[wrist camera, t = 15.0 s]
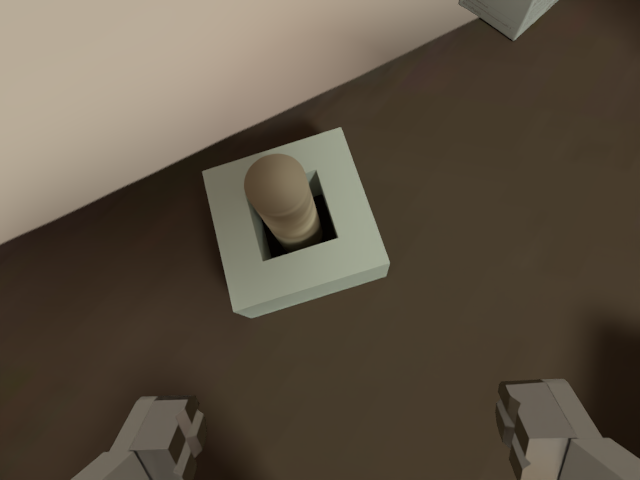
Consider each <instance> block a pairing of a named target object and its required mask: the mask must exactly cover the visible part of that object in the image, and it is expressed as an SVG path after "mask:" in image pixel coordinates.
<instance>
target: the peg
mask: <svg viewBox="0 0 640 480" xmlns="http://www.w3.org/2000/svg"><path fill="white" fill-rule="evenodd" d="M244 190H245V194H246V196H247V198H248V200H249V201H250V202H251V204H252V205H253V207H254V208H255V209H256V211H257V212H258V214H259V215H260V216H261V218H262V219H263V221H264V222H265V223H266V225H267V226H268V227H269V229H270V230H271V232H272V233H273V234H274V236H275V237H276V239H277V240H278V241H279V243H280V244H281V246H282V247H283V248H284V249H285V250H286V251H287V252H289V253H292V252H295V251H298V250H301V249H304V248H308V247H311V246H314V245H317V244H320V243H321V241H322V237H323V230H322V226H321V223H320V219H319V216H318V213H317V210H316V206H315V203H314V200H313V197H312V193H311V190H310V187H309V184H308V181H307V177H306V174H305V171H304V169H303V167H302V165H301V164H300V163H299V162H298V161H297V160H296V159H294V158H293V157H291V156H288V155H285V154H270V155H266V156H264V157H262V158H260V159H258V160H257V161H256V162H254V163H253V164H252V165H251V167H250V168H249V169H248V171H247V173H246V176H245V179H244Z"/></svg>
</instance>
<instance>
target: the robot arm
mask: <svg viewBox="0 0 640 480" xmlns="http://www.w3.org/2000/svg"><path fill="white" fill-rule="evenodd" d="M498 393H499V395H500V398H501V400H499V401H498V402H497V403H496V412H495V413H496V422H497V427H498V430H499V434H500V436H501V439H502V442H503V443H505V444H506V445H507V446H508V447H509V448H510V449H511V450H510V456H509V460H510V463H511V466H512V468H513V471H514V473H515V476H516V479H517V480H640V459H639V458H638V457H636V456H635V455H633V454H632V453H631V452H629V451H628V450H626V449H625V448H623V447H622V446H620V445H619V444H618V443H616V442H615V441H613V440H612V439H610V438H603V437H602V436H601V434H600V433H599V431H598V429H597V428H596V426H595V425H594V423H593V421H592V420H591V418H590V417H589V415H588V413H587V412H586V410H585V409H584V407H583V405H582V404H581V402H580V401H579V399H578V397H577V396H576V394H575V393H574V391H573V390H572V388H571V386H570V385H569V383H568V382H567V381H566V380H565V379H546V380H540V379H538V380H520V381H502V382H501V383H500V384H499V388H498ZM198 406H199V402H198V400H197V398H196V396H146V397H141V398H140V399H138V400H137V401H136V403H135V405H134V407H133V408H132V410H131V412H130V414H129V416H128V418H127V420H126V421H125V423H124V425H123V427H122V429H121V431H120V432H119V434H118V436H117V438H116V440H115V442H114V444H113V445H112V447H111V449H110V451H109V452H103V453H102V454H101V455H100V456H99V457H97V458H96V459H95V460H94V461H93V462H91V463H90V464H89V465H88V466H87V467H85V468H84V469H83V470H82V471H81V472H79V473H78V474H77V475H76V476H75V477H73V478H72V479H71V480H193V478H194V475H195V472H196V469H197V464H196V461H195V457H196V456H197V455H198V454H199V453H200V452H201V451H202V450H203V447H204V444H205V441H206V432H207V425H206V419H205V417H204V414H202V413H201V412H200V411H198V410H197V409H198Z"/></svg>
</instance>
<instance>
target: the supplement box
mask: <svg viewBox="0 0 640 480" xmlns="http://www.w3.org/2000/svg"><path fill="white" fill-rule="evenodd" d="M557 1H558V0H459V5H461V6H463V7H464V8H466V9H468V10H469V11H471V12H472V13H474V14H476V15H477V16H479V17H480V18H482V19H483V20H484V21H486V22H487V23H489V24H490V25H492V26H493V27H494V28H496V29H498V30H499V31H500V32H502V33H503V34H504V35H506V36H507V37H508V38H510V39H511V40H513V41H514V40H515V39H516V38H517V37H519V36H520V35H521V34H522V33H523V32H524V31H525V30H526V29H527V28H528V27H529V26H531V25H532V24H533V23H534V22H535V21H536V20H537V19H538V18H539V17H540V16H542V15H543V14H544V13H545V12H546V11H547V10H548V9H549V8H550V7H551V6H552V5H554V4H555V3H556V2H557Z"/></svg>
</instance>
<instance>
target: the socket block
mask: <svg viewBox="0 0 640 480" xmlns="http://www.w3.org/2000/svg"><path fill="white" fill-rule="evenodd" d="M270 154H285V155H288V156H291V157H293V158H294V159H296V160H297V161H298V162H299V163H300V164H301V165H302V167H303V169H304V171H305V174H306V177H307V181H308V184H309V187H310V190H311V193H312V197H315V196H318V195H321V194H322V195H323V198H324V201H325V204H326V207H327V210H328V213H329V216H330V219H331V222H332V226H333V229H334V232H335V235H336V239H333V240H330V241H327V242H324V243H320V244H317V245H314V246H311V247H308V248H304V249H301V250H298V251H295V252H292V253H289V254H285V255H282V256H279V257H276V258H273V259H272V257H271V253H270V249H269V245H268V242H267V238H266V234H265V230H264V226H263V223H262V219H261V216H260V215H259V214H258V212H257V211H256V209H255V208H254V207H253V205H252V204H251V202H250V201H249V200H248V198H247V196H246V194H245V190H244V179H245V176H246V173H247V171H248V169H249V168H250V167H251V165H252V164H253V163H254V162H256V161H257V160H258V159H260V158H262V157H264V156H266V155H270ZM202 174H203V178H204V183H205V187H206V192H207V196H208V201H209V205H210V210H211V214H212V219H213V223H214V228H215V232H216V236H217V241H218V245H219V250H220V254H221V259H222V263H223V268H224V272H225V277H226V281H227V286H228V290H229V295H230V299H231V304H232V308H233V312H235V313H238V314H241V315H243V316H246V317H249V318H254V317H258V316H261V315H264V314H267V313H270V312H274V311H277V310H280V309H283V308H286V307H290V306H293V305H296V304H299V303H303V302H306V301H309V300H312V299H315V298H319V297H322V296H325V295H328V294H331V293H335V292H338V291H341V290H344V289H347V288H351V287H354V286H357V285H360V284H363V283H367V282H370V281H373V280H376V279H379V278H383V277H386V275H387V272H388V268H389V265H390V261H389V259H388V256H387V253H386V250H385V248H384V245H383V242H382V239H381V237H380V234H379V231H378V228H377V225H376V223H375V220H374V217H373V214H372V212H371V209H370V206H369V203H368V201H367V198H366V195H365V192H364V189H363V187H362V184H361V181H360V178H359V176H358V173H357V170H356V167H355V165H354V162H353V159H352V156H351V153H350V151H349V148H348V145H347V142H346V140H345V137H344V134H343V131H342V129H341V127H340V128H336V129H333V130H330V131H327V132H324V133H321V134H318V135H314V136H311V137H308V138H305V139H302V140H299V141H296V142H292V143H289V144H286V145H283V146H280V147H277V148H274V149H270V150H267V151H264V152H261V153H258V154H255V155H251V156H248V157H245V158H242V159H239V160H236V161H233V162H229V163H226V164H223V165H220V166H217V167H214V168H211V169H207V170H204V171H202Z"/></svg>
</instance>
